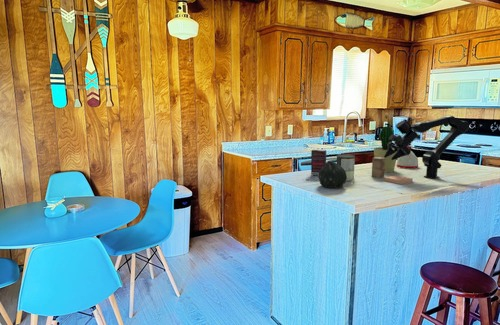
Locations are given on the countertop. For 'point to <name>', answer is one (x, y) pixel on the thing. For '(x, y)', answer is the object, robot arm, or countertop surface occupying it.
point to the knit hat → (408, 161)
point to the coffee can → (347, 164)
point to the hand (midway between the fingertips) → (387, 158)
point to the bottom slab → (399, 184)
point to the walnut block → (378, 167)
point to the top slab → (399, 179)
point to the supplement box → (317, 161)
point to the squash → (332, 175)
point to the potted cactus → (385, 149)
